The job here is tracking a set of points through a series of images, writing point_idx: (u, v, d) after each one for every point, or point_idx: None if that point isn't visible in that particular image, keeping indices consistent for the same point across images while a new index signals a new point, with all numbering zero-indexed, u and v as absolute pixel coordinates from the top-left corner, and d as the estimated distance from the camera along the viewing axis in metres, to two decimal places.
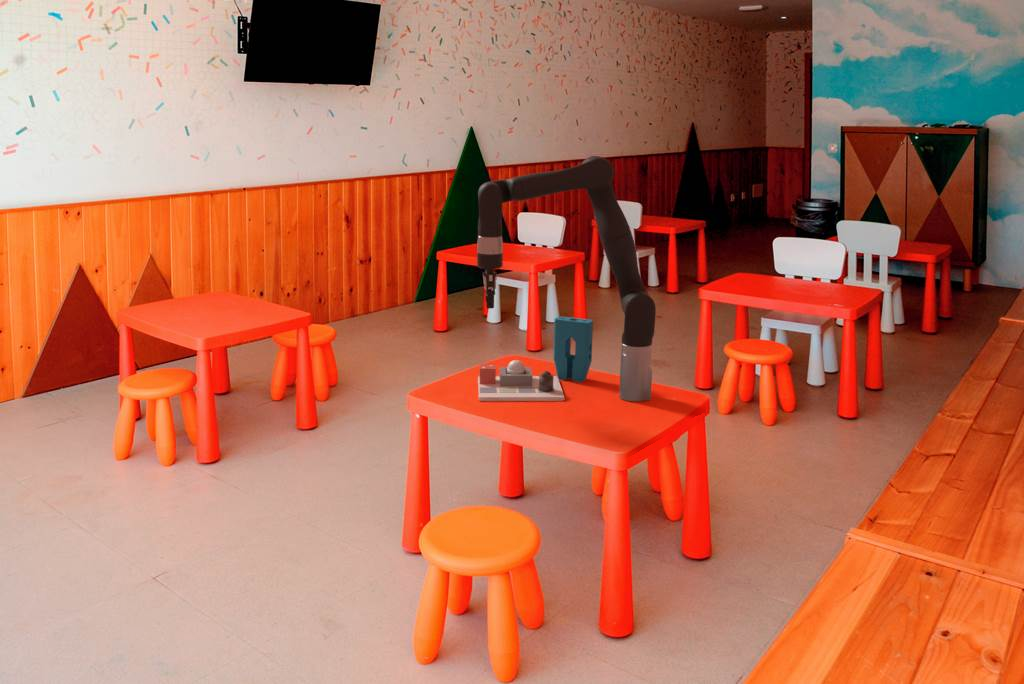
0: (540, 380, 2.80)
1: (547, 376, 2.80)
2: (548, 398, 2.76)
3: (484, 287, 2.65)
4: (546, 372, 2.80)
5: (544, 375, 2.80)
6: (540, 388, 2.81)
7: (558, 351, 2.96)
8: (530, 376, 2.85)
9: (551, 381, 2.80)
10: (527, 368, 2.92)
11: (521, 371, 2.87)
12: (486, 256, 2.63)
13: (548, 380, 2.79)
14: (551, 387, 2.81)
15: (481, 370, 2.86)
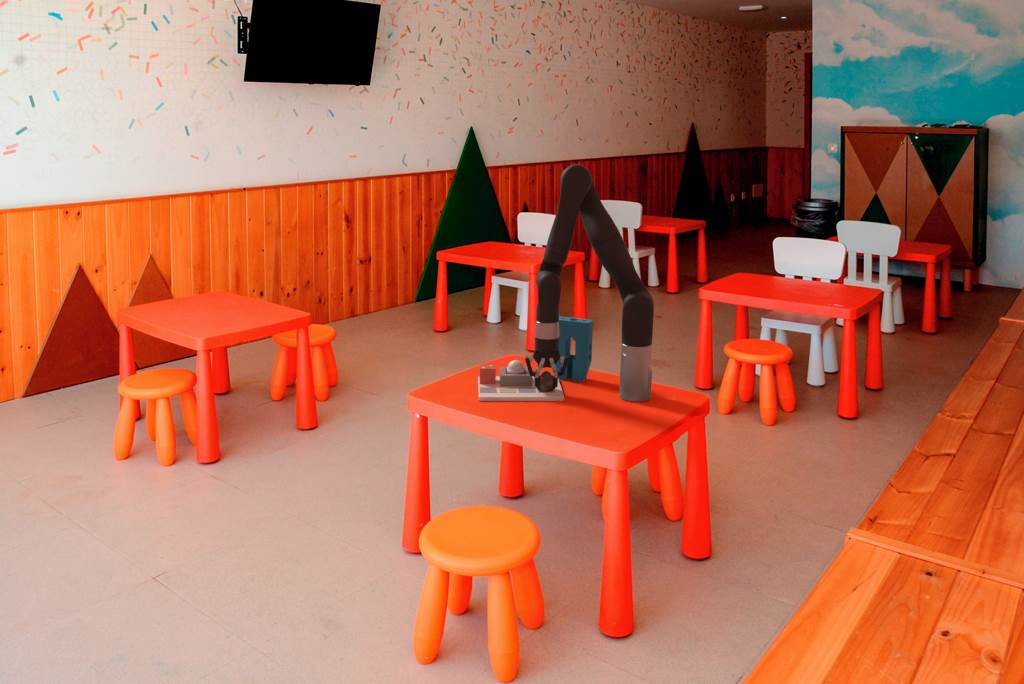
0: (540, 380, 2.80)
1: (547, 376, 2.80)
2: (548, 398, 2.76)
3: (553, 370, 2.79)
4: (546, 372, 2.80)
5: (544, 375, 2.80)
6: (540, 388, 2.81)
7: None
8: (530, 376, 2.85)
9: (551, 381, 2.80)
10: (527, 368, 2.92)
11: (521, 371, 2.87)
12: None
13: (548, 380, 2.79)
14: (551, 387, 2.81)
15: (481, 370, 2.86)
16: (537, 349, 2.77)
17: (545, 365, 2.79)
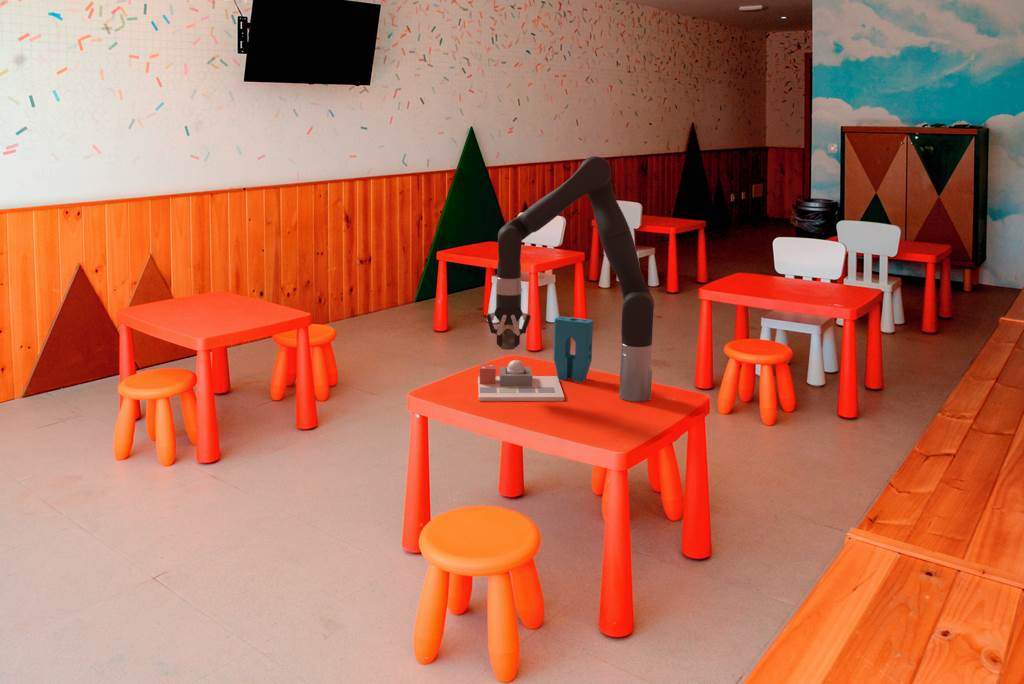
0: (502, 337, 2.76)
1: (509, 333, 2.76)
2: (548, 398, 2.76)
3: (515, 327, 2.75)
4: (508, 329, 2.76)
5: (506, 332, 2.76)
6: (502, 346, 2.77)
7: (558, 351, 2.96)
8: (530, 376, 2.85)
9: (513, 339, 2.76)
10: (527, 368, 2.92)
11: (521, 371, 2.87)
12: (520, 295, 2.73)
13: (510, 337, 2.75)
14: (513, 345, 2.77)
15: (481, 370, 2.86)
16: (498, 306, 2.73)
17: (507, 322, 2.75)
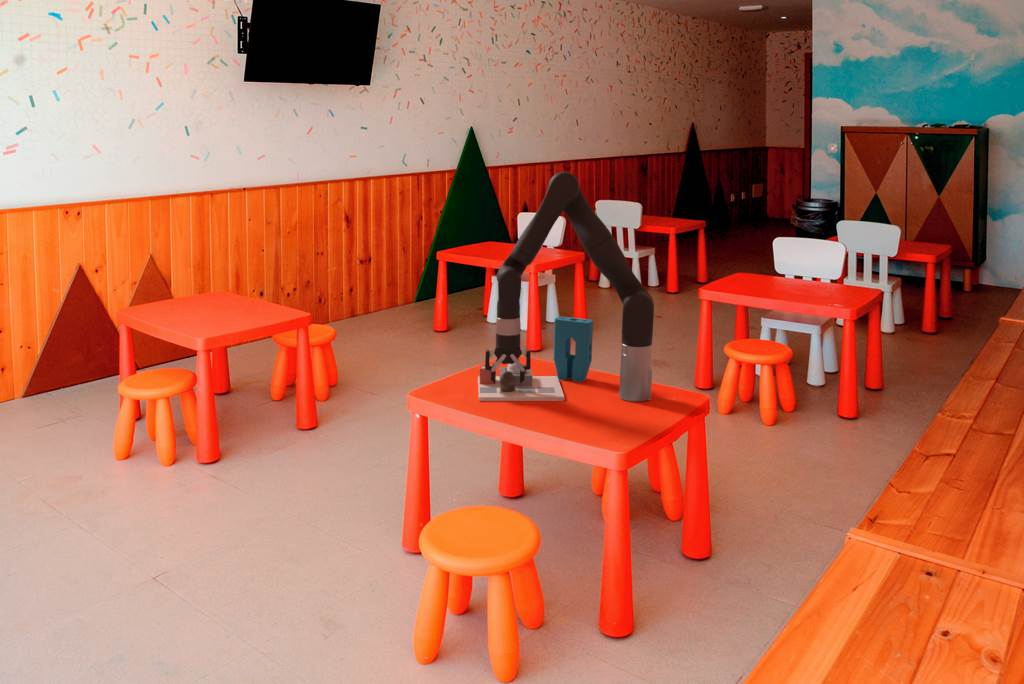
0: (501, 380, 2.80)
1: (508, 376, 2.79)
2: (548, 398, 2.76)
3: (518, 365, 2.78)
4: (507, 372, 2.80)
5: (505, 375, 2.79)
6: (501, 388, 2.80)
7: (558, 351, 2.96)
8: (530, 376, 2.85)
9: (512, 381, 2.79)
10: None
11: None
12: None
13: (509, 380, 2.79)
14: (512, 387, 2.80)
15: (481, 370, 2.86)
16: (498, 345, 2.76)
17: (506, 361, 2.78)
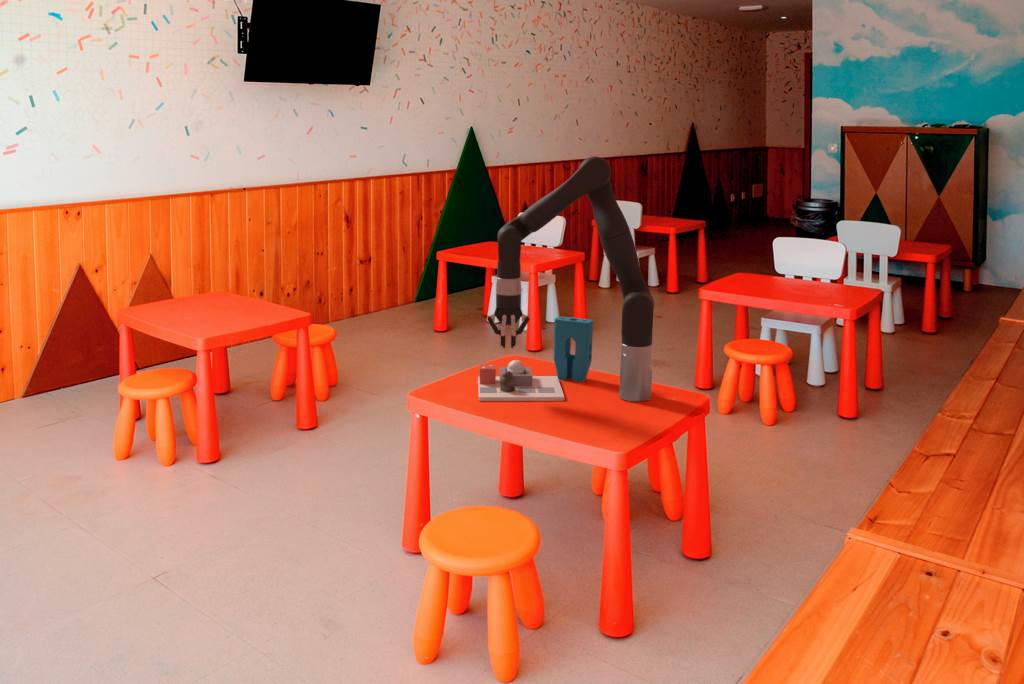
0: (501, 380, 2.80)
1: (508, 376, 2.79)
2: (548, 398, 2.76)
3: (513, 328, 2.75)
4: (507, 372, 2.80)
5: (505, 375, 2.79)
6: (501, 388, 2.80)
7: (558, 351, 2.96)
8: (530, 376, 2.85)
9: (512, 381, 2.79)
10: (527, 368, 2.92)
11: (521, 371, 2.87)
12: (520, 295, 2.73)
13: (509, 380, 2.79)
14: (512, 387, 2.80)
15: (481, 370, 2.86)
16: (498, 306, 2.73)
17: (507, 322, 2.75)
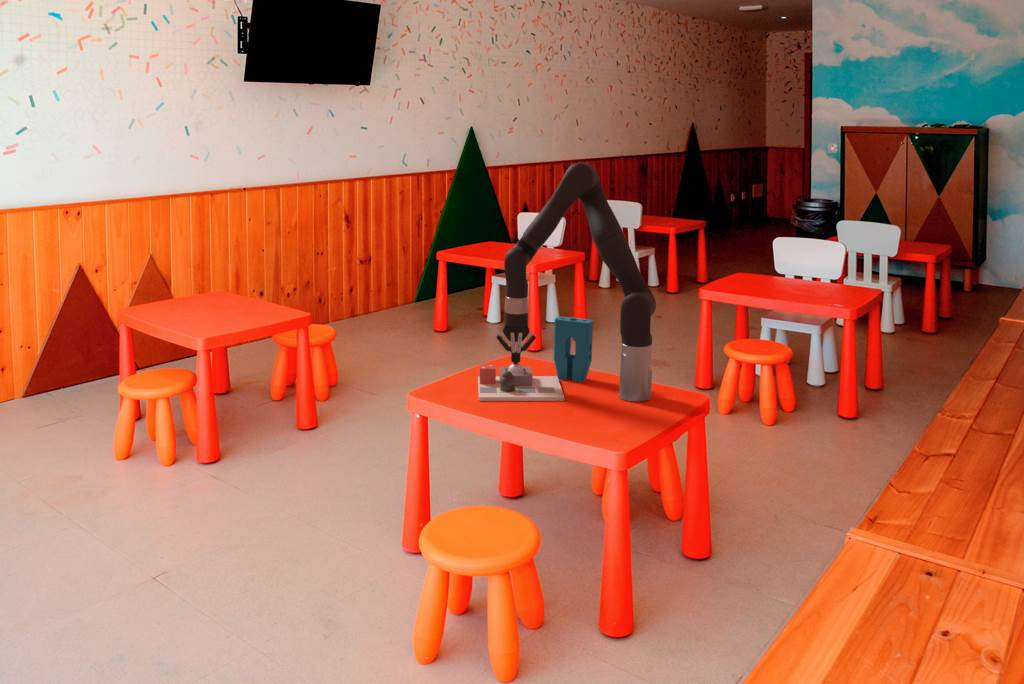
0: (501, 380, 2.80)
1: (508, 376, 2.79)
2: (548, 398, 2.76)
3: (518, 345, 2.86)
4: (507, 372, 2.80)
5: (505, 375, 2.79)
6: (501, 388, 2.80)
7: (558, 351, 2.96)
8: (530, 376, 2.85)
9: (512, 381, 2.79)
10: (527, 368, 2.92)
11: None
12: None
13: (509, 380, 2.79)
14: (512, 387, 2.80)
15: (481, 370, 2.86)
16: (506, 324, 2.83)
17: (514, 340, 2.86)
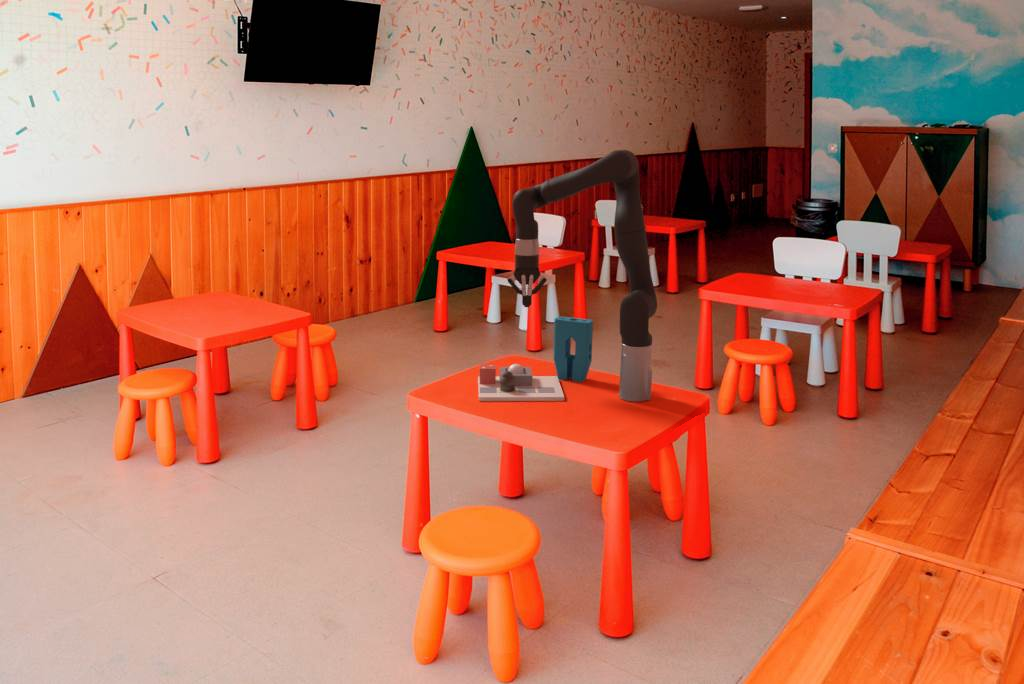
0: (501, 380, 2.80)
1: (508, 376, 2.79)
2: (548, 398, 2.76)
3: (530, 287, 2.85)
4: (507, 372, 2.80)
5: (505, 375, 2.79)
6: (501, 388, 2.80)
7: (558, 351, 2.96)
8: (530, 376, 2.85)
9: (512, 381, 2.79)
10: (527, 368, 2.92)
11: None
12: (538, 256, 2.84)
13: (509, 380, 2.79)
14: (512, 387, 2.80)
15: (481, 370, 2.86)
16: (517, 266, 2.83)
17: (525, 282, 2.86)
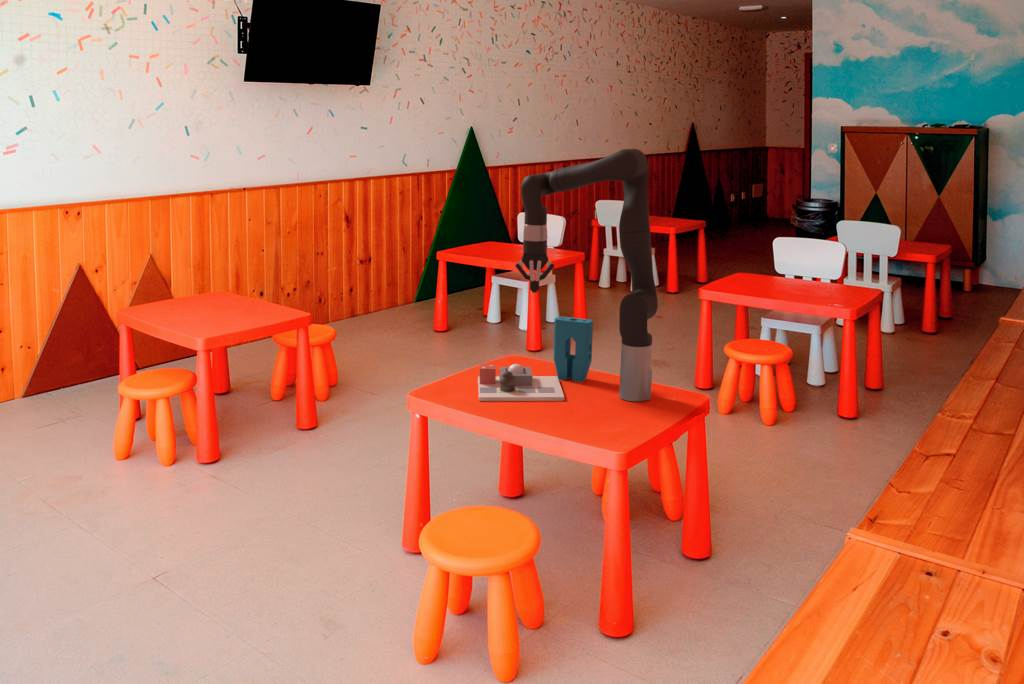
0: (501, 380, 2.80)
1: (508, 376, 2.79)
2: (548, 398, 2.76)
3: (537, 273, 2.87)
4: (507, 372, 2.80)
5: (505, 375, 2.79)
6: (501, 388, 2.80)
7: (558, 351, 2.96)
8: (530, 376, 2.85)
9: (512, 381, 2.79)
10: (527, 368, 2.92)
11: None
12: (546, 242, 2.86)
13: (509, 380, 2.79)
14: (512, 387, 2.80)
15: (481, 370, 2.86)
16: (525, 251, 2.85)
17: (533, 268, 2.88)
